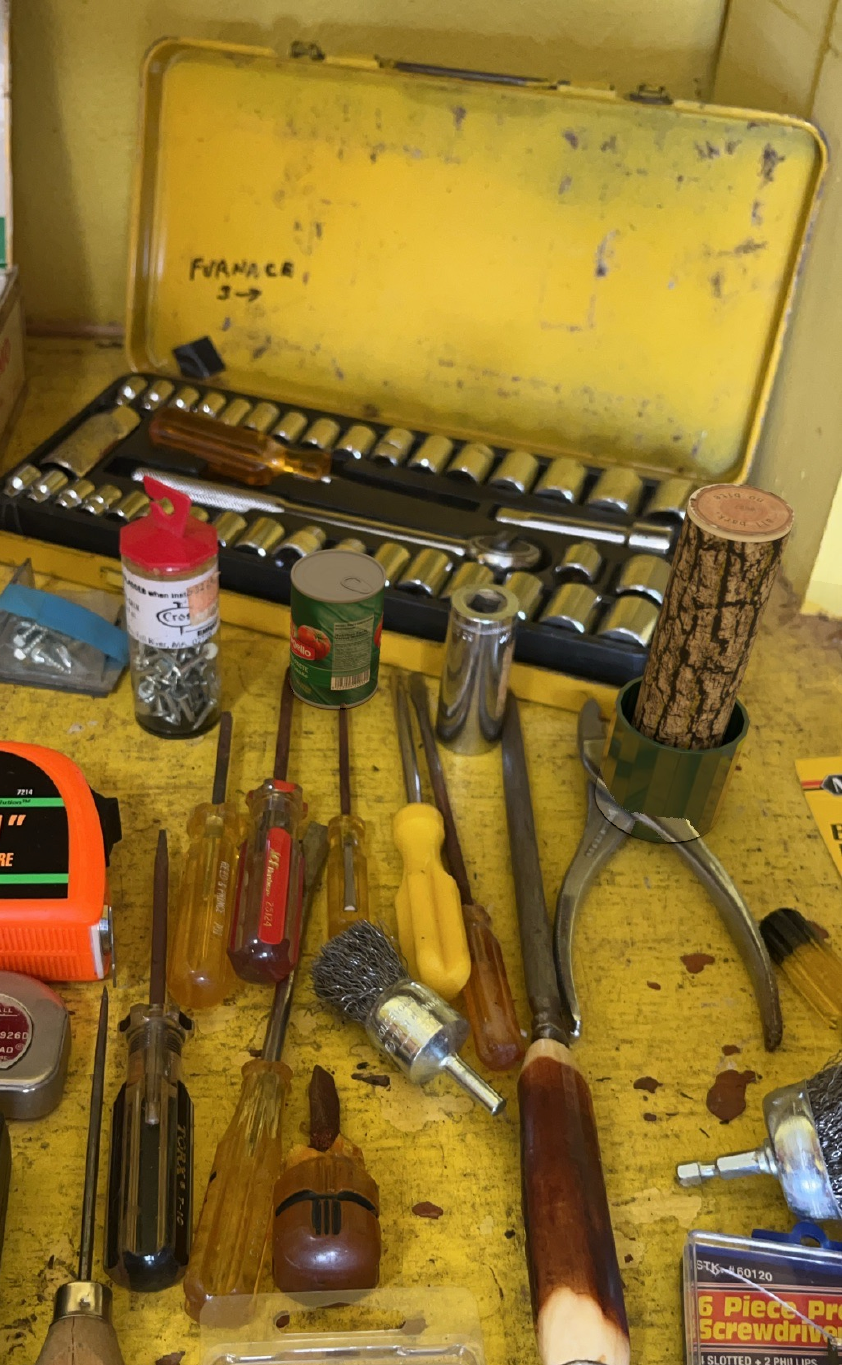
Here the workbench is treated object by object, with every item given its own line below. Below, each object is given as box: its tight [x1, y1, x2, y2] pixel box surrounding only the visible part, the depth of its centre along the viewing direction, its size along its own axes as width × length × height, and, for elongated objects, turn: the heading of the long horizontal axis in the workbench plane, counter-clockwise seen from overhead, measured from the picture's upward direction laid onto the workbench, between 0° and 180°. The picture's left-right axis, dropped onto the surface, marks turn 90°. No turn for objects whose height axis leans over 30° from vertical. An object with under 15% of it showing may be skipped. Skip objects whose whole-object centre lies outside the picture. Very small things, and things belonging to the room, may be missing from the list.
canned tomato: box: [289, 548, 387, 710], centre depth 107 cm, size 8×8×11 cm
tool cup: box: [600, 674, 751, 844], centre depth 97 cm, size 10×10×9 cm
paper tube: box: [631, 483, 795, 750], centre depth 91 cm, size 7×7×25 cm
